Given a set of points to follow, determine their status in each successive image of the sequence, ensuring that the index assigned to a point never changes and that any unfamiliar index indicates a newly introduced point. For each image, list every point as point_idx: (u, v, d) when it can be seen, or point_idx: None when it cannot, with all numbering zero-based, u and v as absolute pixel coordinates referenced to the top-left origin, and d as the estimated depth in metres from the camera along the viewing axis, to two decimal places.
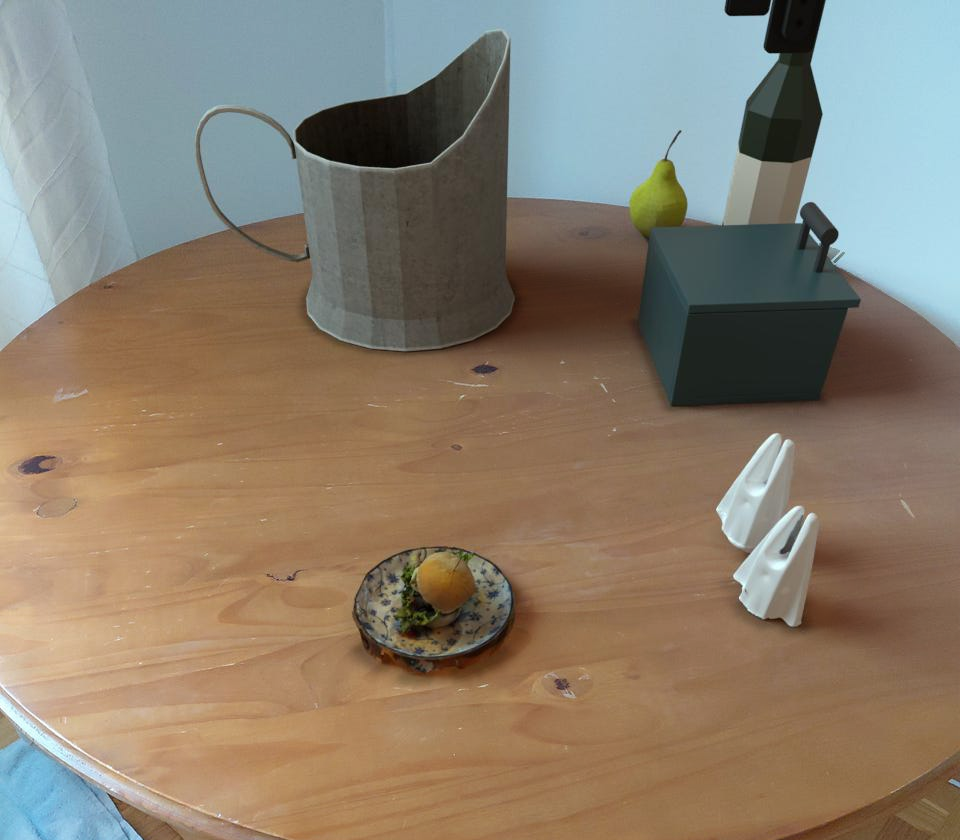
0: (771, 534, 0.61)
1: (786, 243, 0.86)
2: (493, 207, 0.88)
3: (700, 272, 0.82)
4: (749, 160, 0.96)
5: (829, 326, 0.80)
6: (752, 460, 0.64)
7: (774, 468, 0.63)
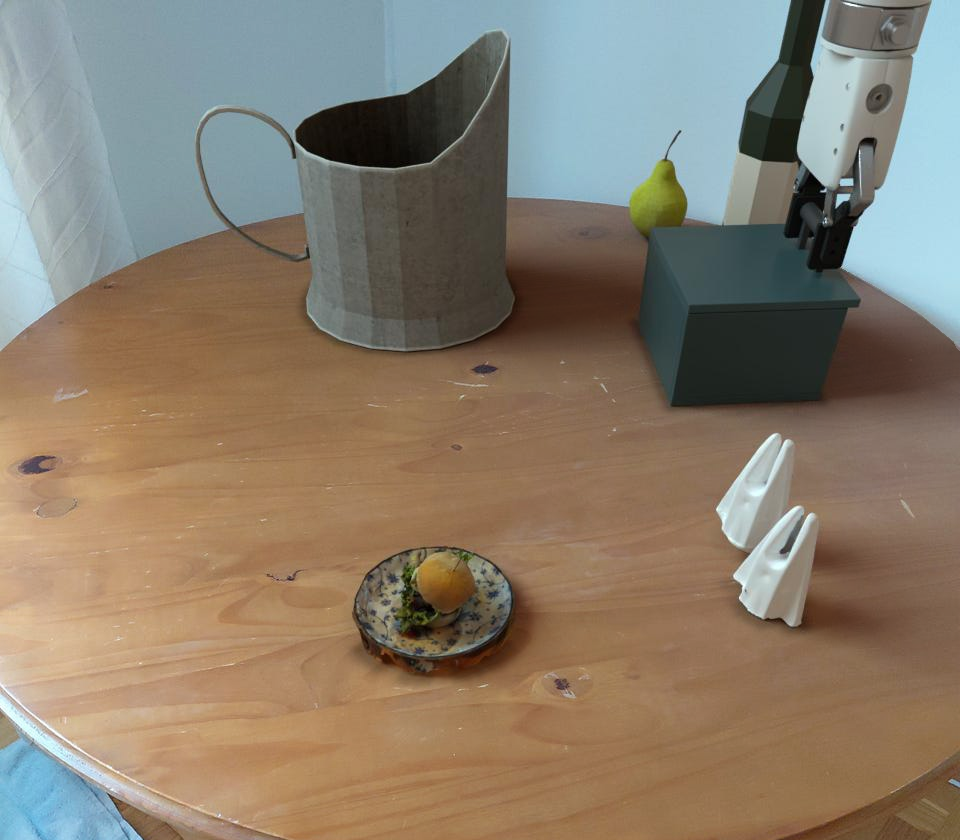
0: (771, 534, 0.61)
1: (786, 243, 0.86)
2: (493, 207, 0.88)
3: (700, 272, 0.82)
4: (749, 160, 0.96)
5: (829, 326, 0.80)
6: (752, 460, 0.64)
7: (774, 468, 0.63)
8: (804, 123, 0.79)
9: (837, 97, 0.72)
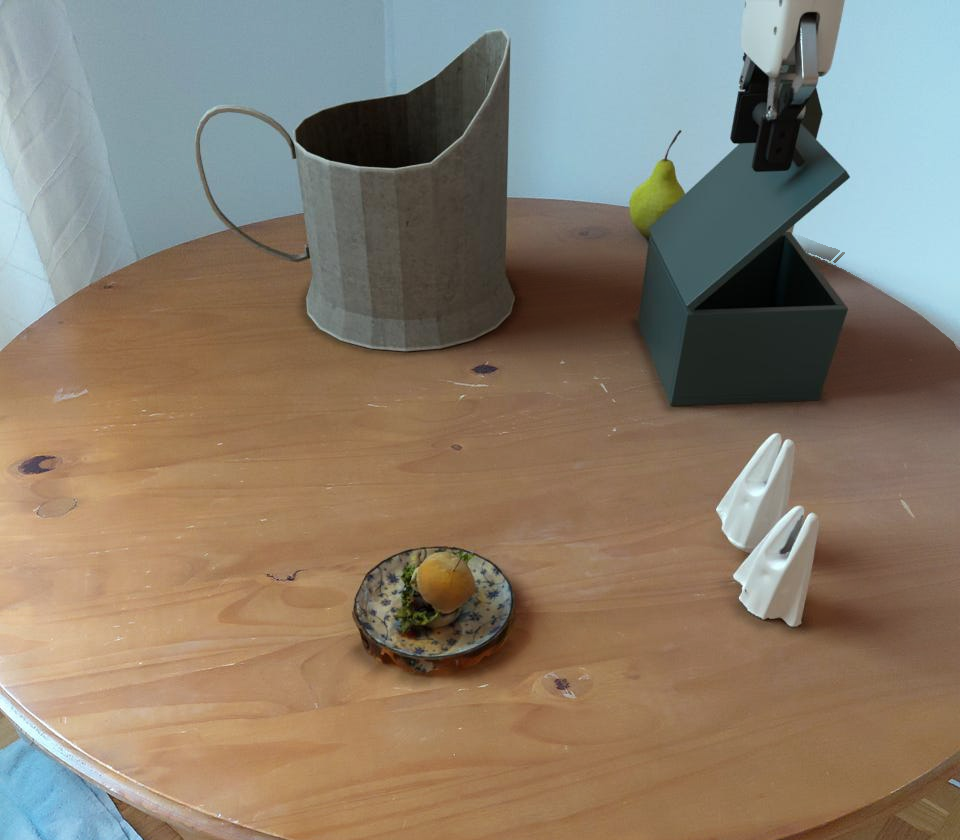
0: (771, 534, 0.61)
1: None
2: (493, 207, 0.88)
3: (692, 254, 0.81)
4: None
5: (829, 326, 0.80)
6: (752, 460, 0.64)
7: (774, 468, 0.63)
8: (746, 9, 0.72)
9: None
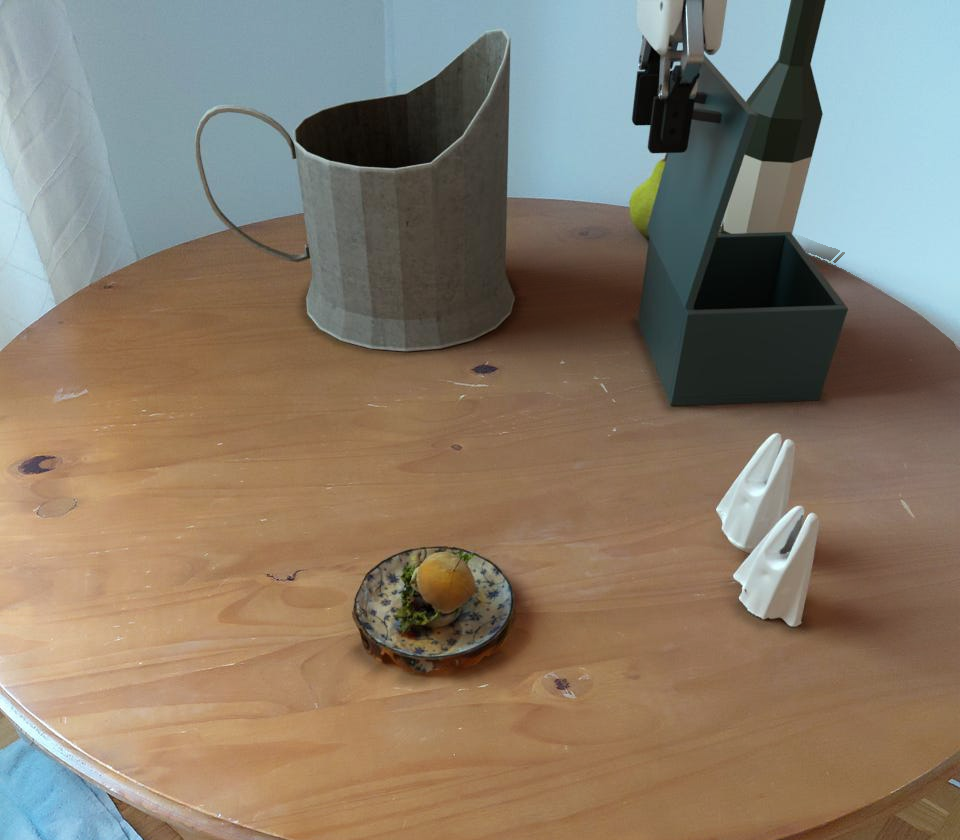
0: (771, 534, 0.61)
1: (697, 109, 0.77)
2: (493, 207, 0.88)
3: (677, 249, 0.80)
4: (749, 160, 0.96)
5: (829, 326, 0.80)
6: (752, 460, 0.64)
7: (774, 468, 0.63)
8: None
9: None
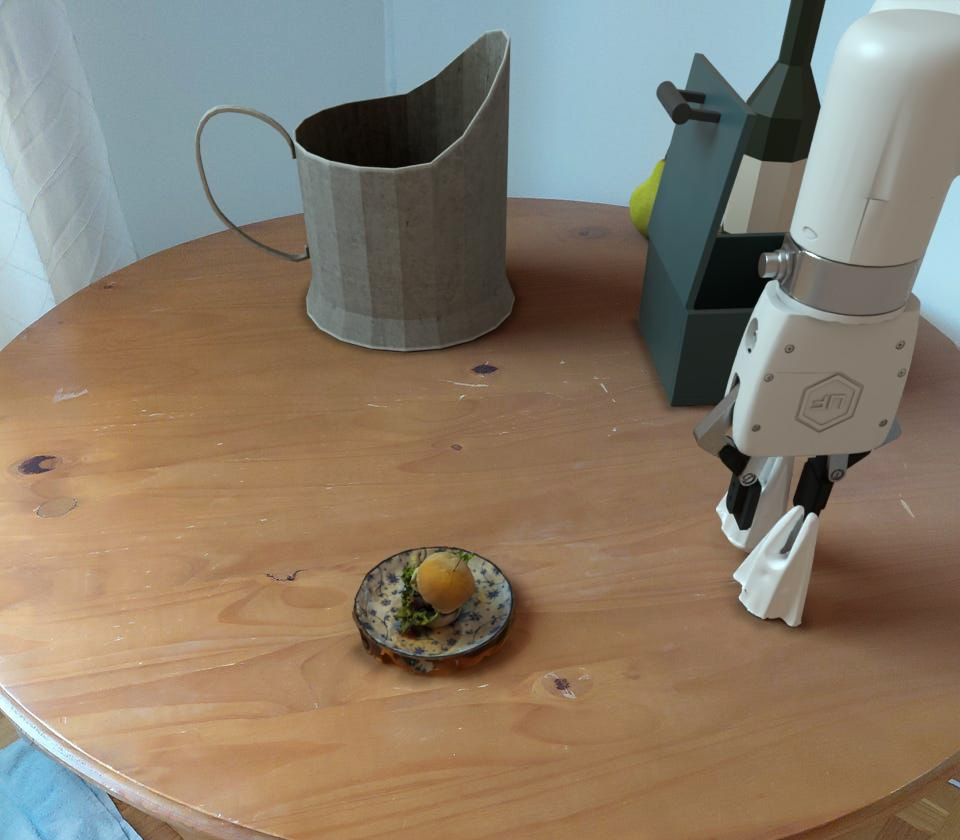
0: (771, 534, 0.61)
1: (696, 109, 0.77)
2: (493, 207, 0.88)
3: (676, 249, 0.80)
4: (749, 160, 0.96)
5: None
6: None
7: (774, 468, 0.63)
8: None
9: None
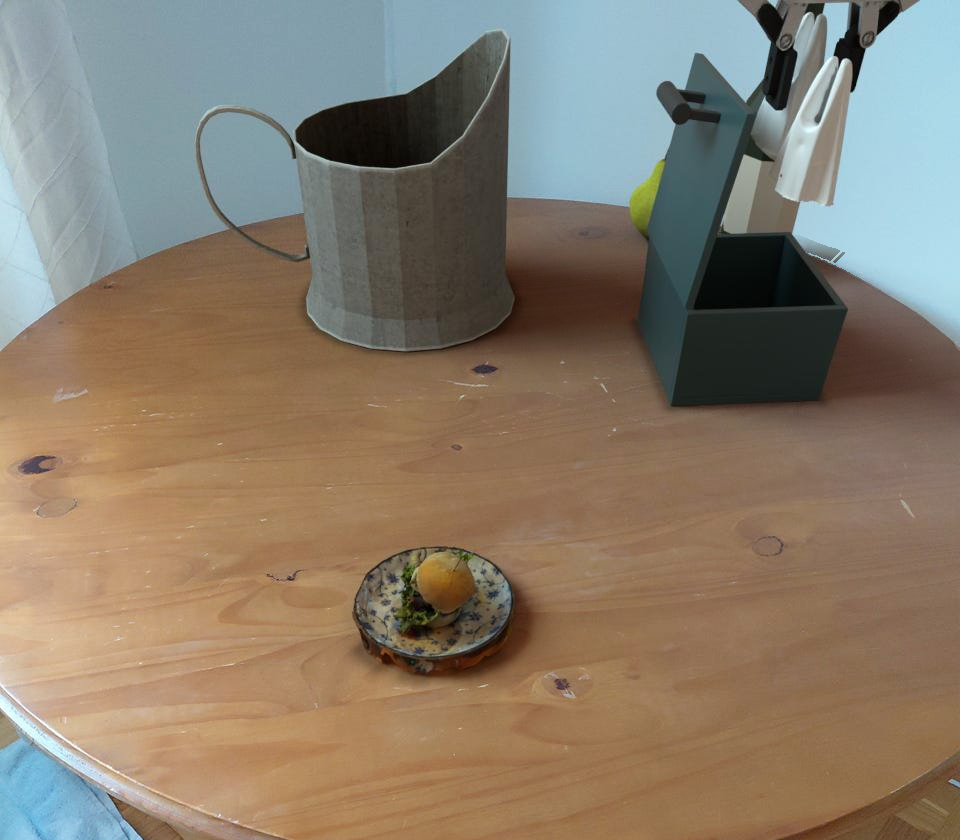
0: (807, 94, 0.65)
1: (696, 109, 0.77)
2: (493, 207, 0.88)
3: (676, 249, 0.80)
4: (749, 160, 0.96)
5: (829, 326, 0.80)
6: None
7: (807, 47, 0.68)
8: None
9: None
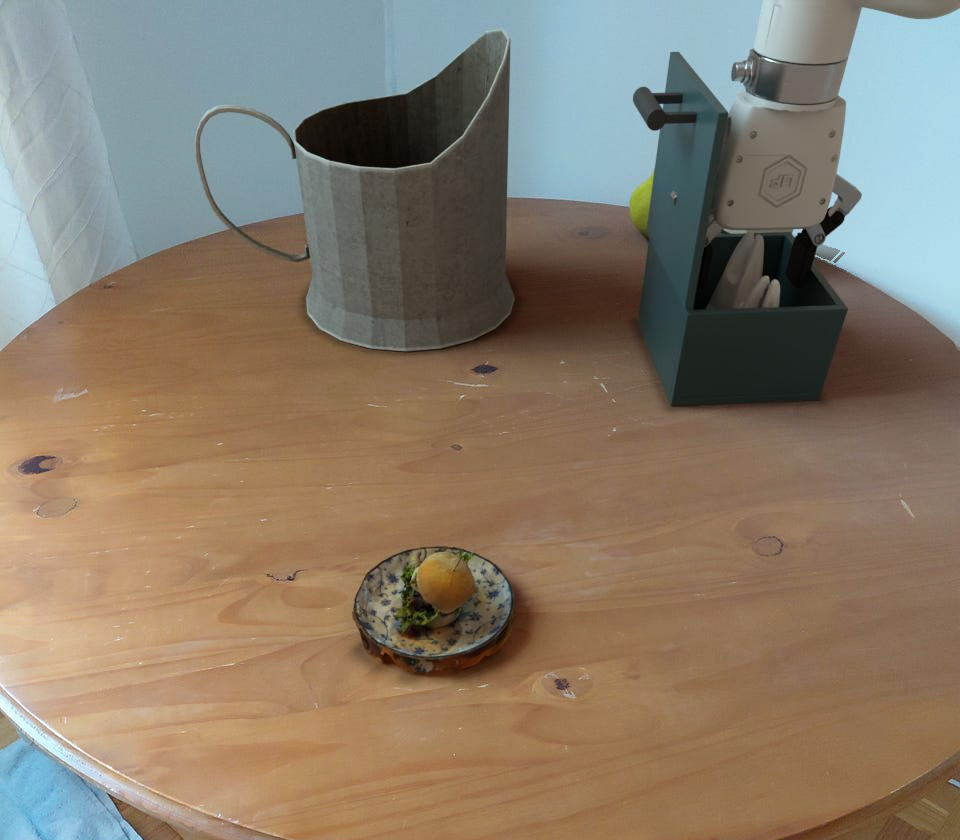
0: (745, 301, 0.83)
1: (676, 108, 0.77)
2: (493, 207, 0.88)
3: (672, 249, 0.80)
4: None
5: (829, 326, 0.80)
6: (732, 255, 0.86)
7: (748, 258, 0.85)
8: None
9: None
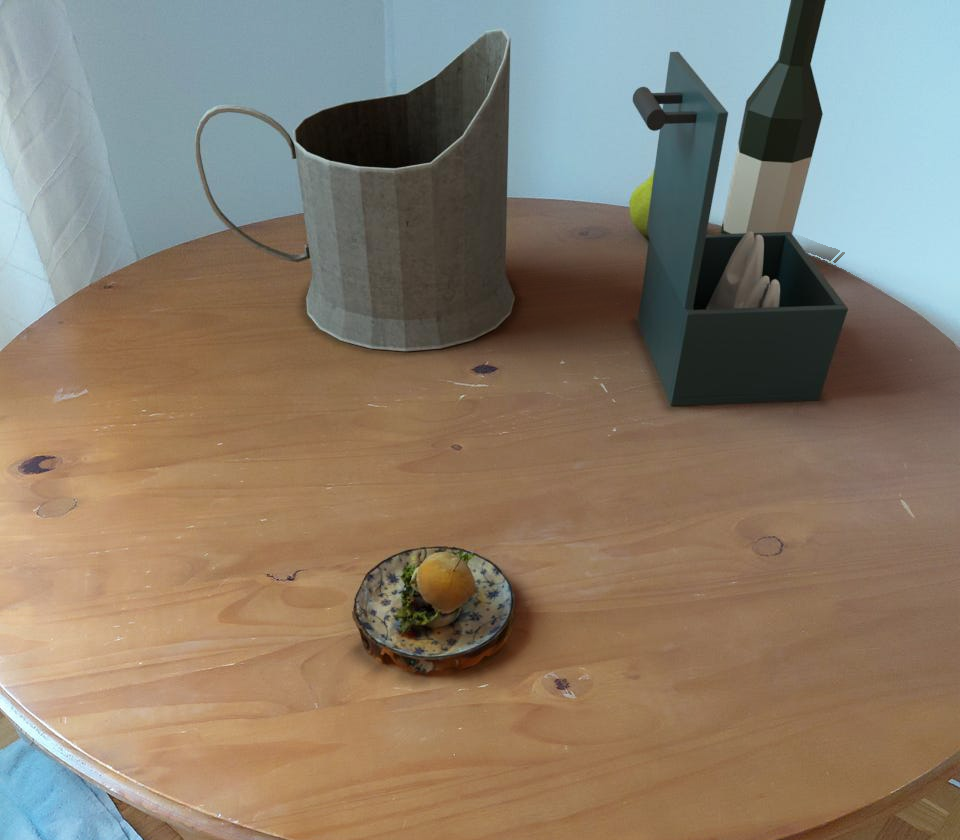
0: (745, 301, 0.83)
1: (676, 108, 0.77)
2: (493, 207, 0.88)
3: (672, 249, 0.80)
4: (749, 160, 0.96)
5: (829, 326, 0.80)
6: (732, 255, 0.86)
7: (748, 258, 0.85)
8: None
9: None
